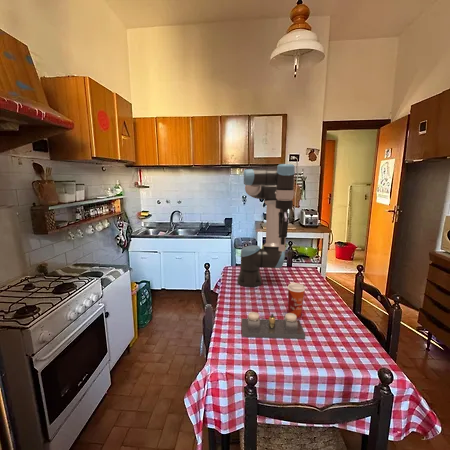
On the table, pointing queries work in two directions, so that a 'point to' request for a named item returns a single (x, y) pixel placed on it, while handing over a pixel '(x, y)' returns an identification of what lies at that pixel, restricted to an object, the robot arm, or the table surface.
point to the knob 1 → (253, 316)
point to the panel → (272, 329)
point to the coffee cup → (295, 298)
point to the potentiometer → (272, 321)
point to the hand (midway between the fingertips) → (281, 250)
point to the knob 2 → (291, 317)
